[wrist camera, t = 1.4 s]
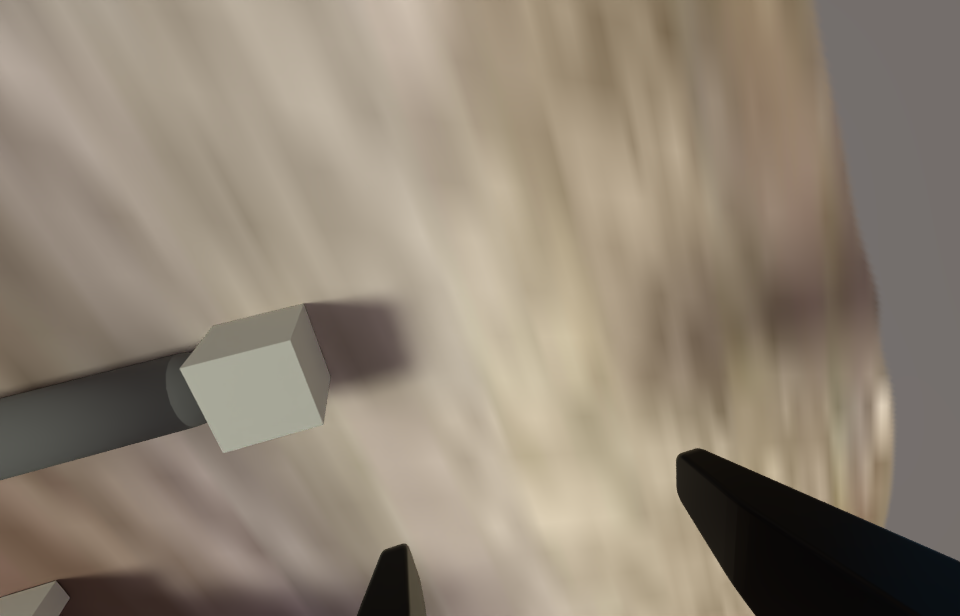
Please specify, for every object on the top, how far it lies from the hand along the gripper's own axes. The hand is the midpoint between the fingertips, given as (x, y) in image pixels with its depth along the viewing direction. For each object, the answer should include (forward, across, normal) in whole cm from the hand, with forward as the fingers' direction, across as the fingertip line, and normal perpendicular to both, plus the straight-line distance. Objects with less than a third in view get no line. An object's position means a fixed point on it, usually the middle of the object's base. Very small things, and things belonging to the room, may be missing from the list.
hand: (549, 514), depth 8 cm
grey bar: (+10, +12, 0) cm, 16 cm away
